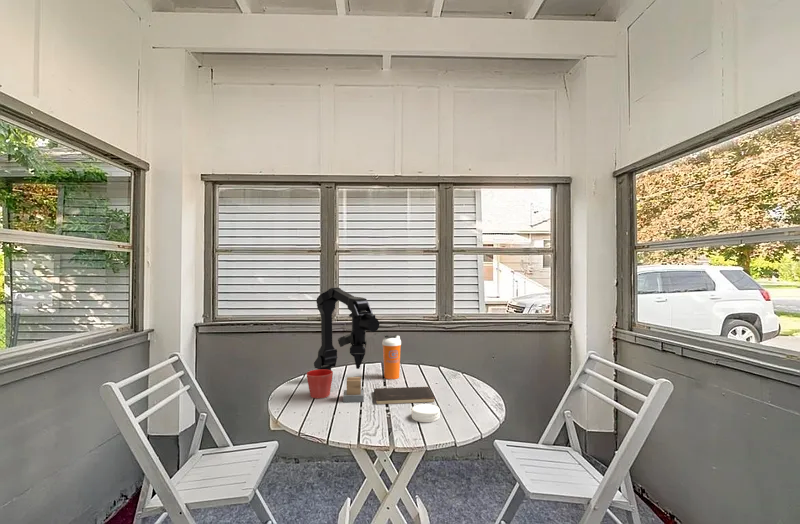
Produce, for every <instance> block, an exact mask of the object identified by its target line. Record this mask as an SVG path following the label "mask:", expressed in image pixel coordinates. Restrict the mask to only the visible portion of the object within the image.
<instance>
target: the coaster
mask: <svg viewBox="0 0 800 524" xmlns="http://www.w3.org/2000/svg"><path fill="white" fill-rule="evenodd" d="M440 410H441V409H440V407H439V406H437V405H434V404H429V403H424V404H423V403H421V404H416V405H414V406H412V408H411V418H412V419H411V420H413V421H415V422H418V423H434V422H437V421H439V420H440V417H441V416H440V414H441V413H440Z"/></svg>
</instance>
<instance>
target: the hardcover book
mask: <svg viewBox="0 0 800 524" xmlns="http://www.w3.org/2000/svg"><path fill="white" fill-rule="evenodd" d="M373 390H374V391H373V393H374V396H375V401H376V405H387V404H388V405H391V404H415V403H416V404H417V403H421V404H423V403H434V402H435V399H436V397H435V396H434V393H433V392H432V390H431V389H430V387H429V386H410V387H409V386H406V387H404V386H403V387H381V388H379V387H378V388H376V387H375V388H374V389H373Z"/></svg>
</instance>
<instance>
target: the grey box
mask: <svg viewBox="0 0 800 524" xmlns="http://www.w3.org/2000/svg"><path fill="white" fill-rule="evenodd" d="M364 398H365V389H361V395H347V389H344V390H343V395H342V402H343V403H364V402H365V399H364Z"/></svg>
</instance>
